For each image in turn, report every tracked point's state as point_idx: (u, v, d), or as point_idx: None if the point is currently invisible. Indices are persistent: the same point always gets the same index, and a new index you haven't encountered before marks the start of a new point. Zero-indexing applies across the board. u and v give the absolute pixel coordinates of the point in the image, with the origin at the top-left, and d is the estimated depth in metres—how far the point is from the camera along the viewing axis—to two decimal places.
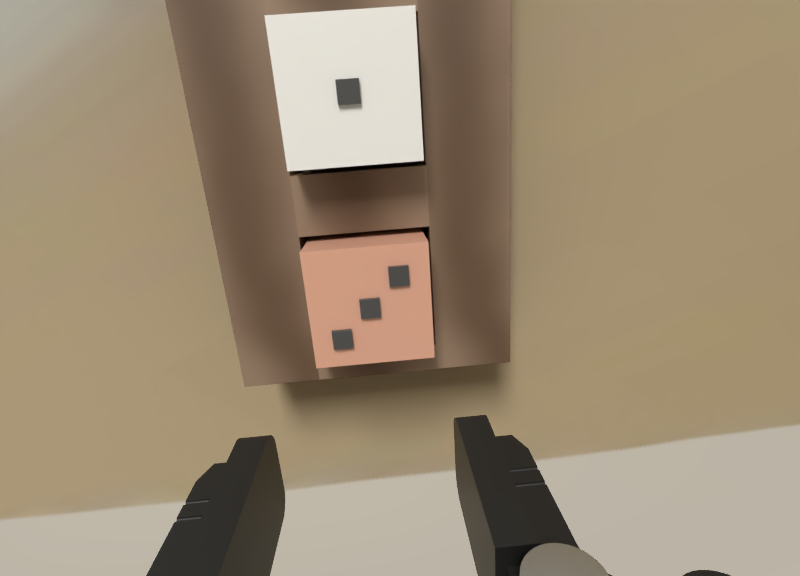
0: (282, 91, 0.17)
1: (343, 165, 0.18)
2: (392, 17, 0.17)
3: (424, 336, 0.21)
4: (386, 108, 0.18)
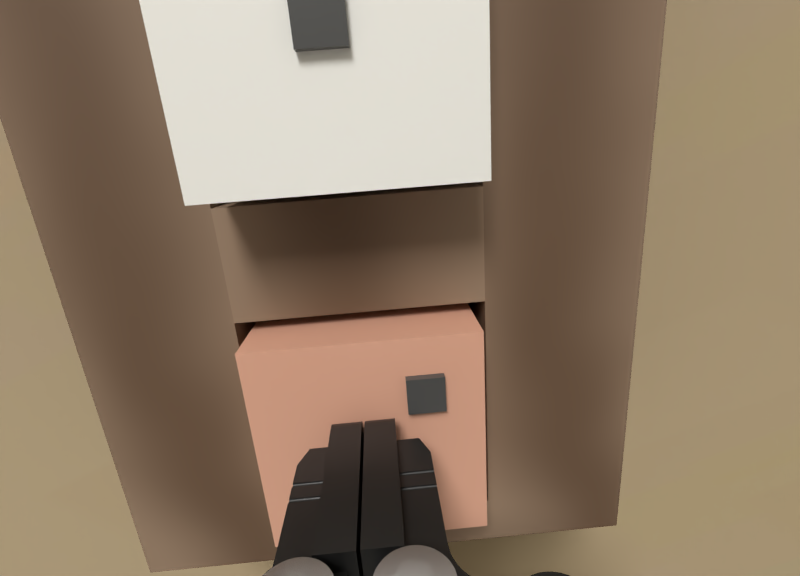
0: (159, 17, 0.07)
1: (311, 192, 0.08)
2: None
3: (470, 492, 0.11)
4: (410, 61, 0.08)
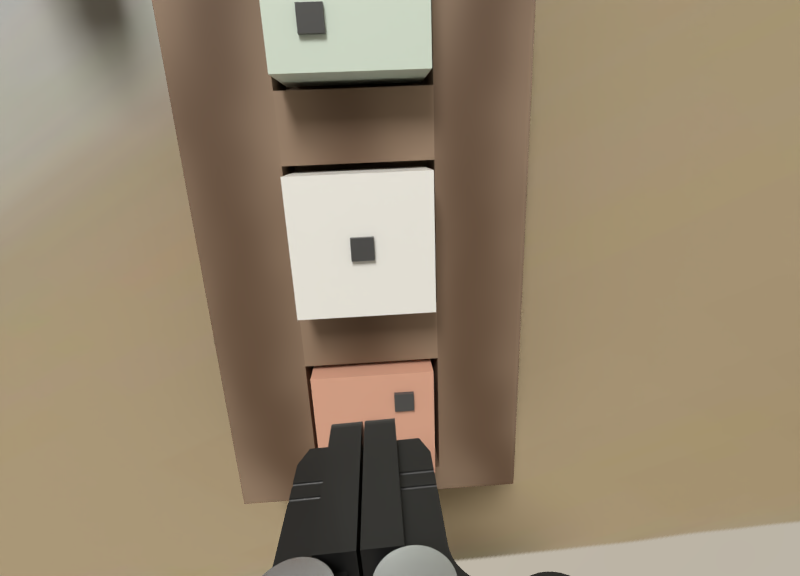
0: (295, 246, 0.17)
1: (354, 315, 0.18)
2: (410, 181, 0.16)
3: None
4: (400, 264, 0.17)
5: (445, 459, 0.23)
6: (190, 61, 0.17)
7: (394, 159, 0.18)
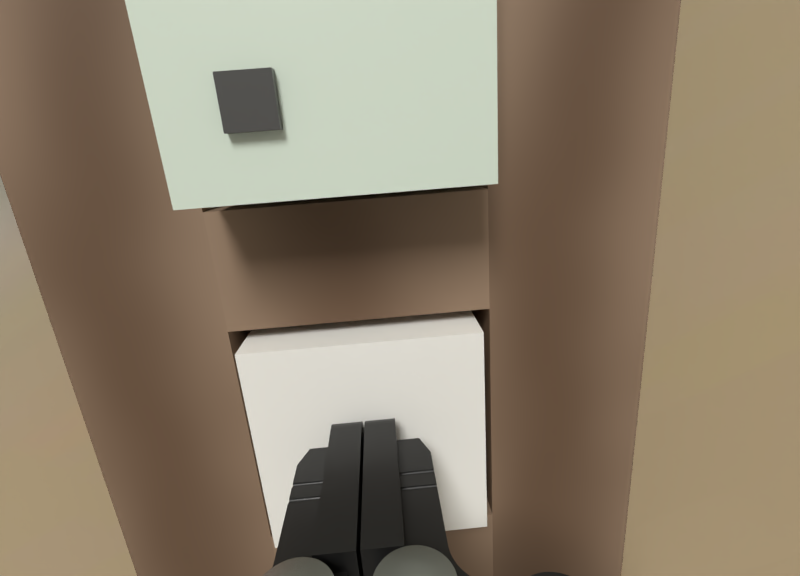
0: (266, 451, 0.11)
1: None
2: (445, 350, 0.10)
3: None
4: None
5: None
6: (48, 170, 0.09)
7: (420, 312, 0.11)
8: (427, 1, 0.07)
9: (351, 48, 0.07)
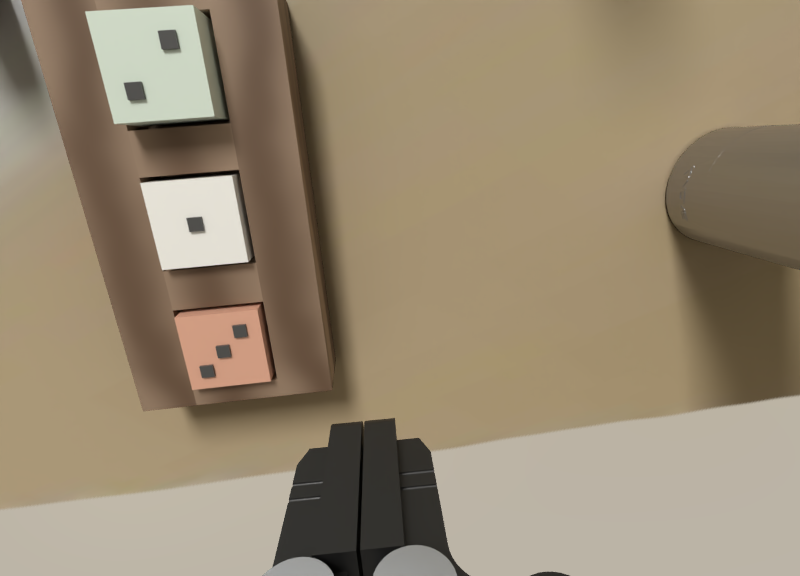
0: (154, 224, 0.28)
1: (197, 265, 0.29)
2: (218, 182, 0.28)
3: (262, 368, 0.32)
4: (220, 233, 0.29)
5: (280, 373, 0.33)
6: (72, 115, 0.27)
7: (212, 170, 0.28)
8: (184, 63, 0.25)
9: (163, 76, 0.25)
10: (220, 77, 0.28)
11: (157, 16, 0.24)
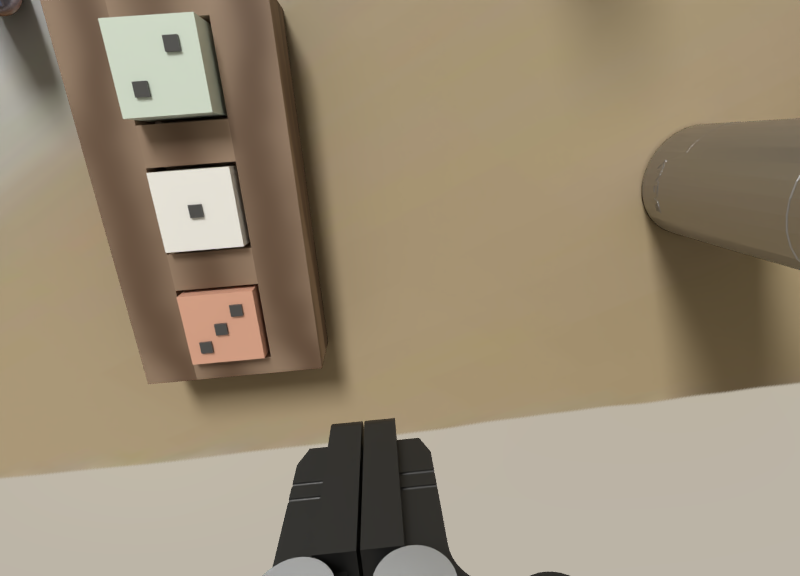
0: (159, 211, 0.31)
1: (197, 249, 0.32)
2: (217, 172, 0.31)
3: (256, 345, 0.35)
4: (219, 219, 0.32)
5: (274, 351, 0.36)
6: (86, 111, 0.30)
7: (211, 162, 0.31)
8: (185, 64, 0.27)
9: (167, 75, 0.28)
10: (219, 77, 0.30)
11: (161, 22, 0.27)
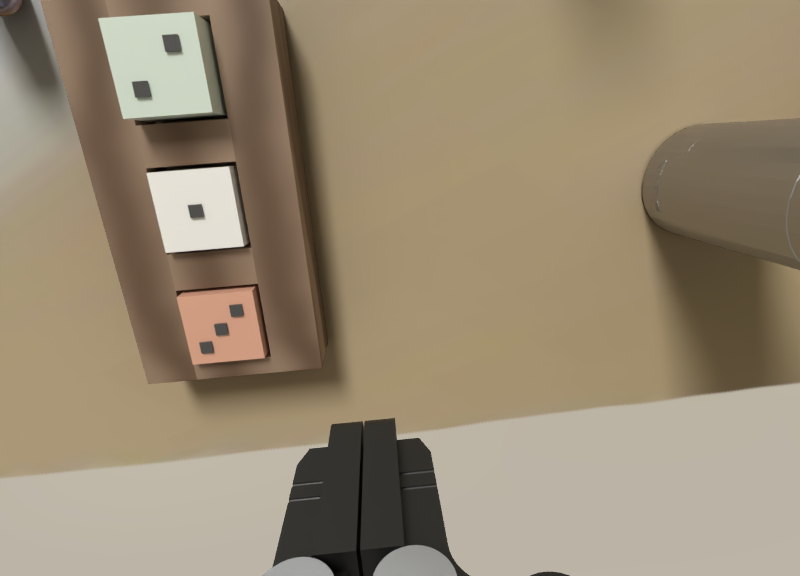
0: (159, 211, 0.31)
1: (197, 249, 0.32)
2: (217, 172, 0.31)
3: (256, 345, 0.35)
4: (219, 219, 0.32)
5: (274, 351, 0.36)
6: (86, 111, 0.30)
7: (211, 162, 0.31)
8: (185, 64, 0.27)
9: (167, 75, 0.28)
10: (219, 77, 0.30)
11: (161, 22, 0.27)
